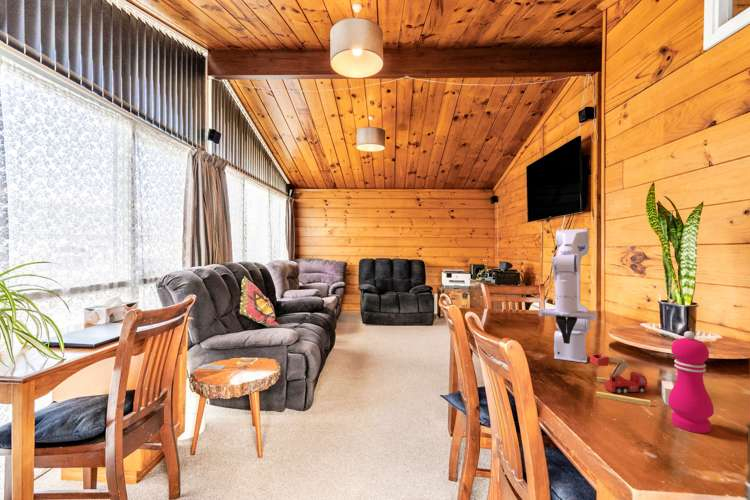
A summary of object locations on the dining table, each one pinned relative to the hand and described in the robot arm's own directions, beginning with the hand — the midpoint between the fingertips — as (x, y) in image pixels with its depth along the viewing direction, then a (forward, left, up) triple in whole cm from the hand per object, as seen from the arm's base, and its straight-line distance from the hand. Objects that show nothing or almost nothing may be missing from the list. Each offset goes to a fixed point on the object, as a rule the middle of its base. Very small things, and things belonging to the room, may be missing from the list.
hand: (566, 342), depth 105 cm
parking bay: (+15, -4, -10) cm, 19 cm away
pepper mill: (+24, -18, -11) cm, 32 cm away
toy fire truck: (+12, -4, -11) cm, 17 cm away
